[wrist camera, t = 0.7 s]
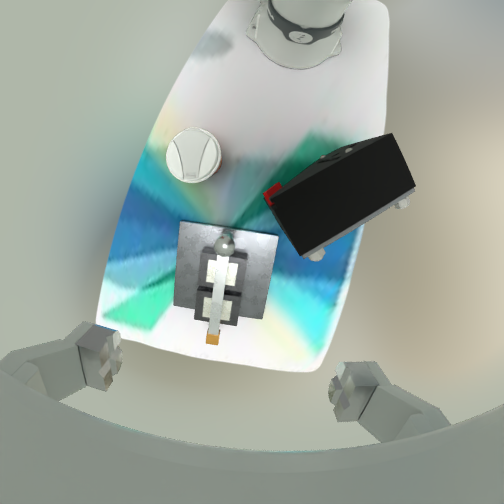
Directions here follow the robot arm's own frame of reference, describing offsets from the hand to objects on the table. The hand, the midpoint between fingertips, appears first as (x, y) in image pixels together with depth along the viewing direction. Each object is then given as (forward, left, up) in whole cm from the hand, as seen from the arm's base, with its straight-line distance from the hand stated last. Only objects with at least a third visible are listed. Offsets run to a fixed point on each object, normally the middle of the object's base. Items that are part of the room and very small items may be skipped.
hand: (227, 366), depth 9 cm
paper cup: (-9, -8, -42) cm, 44 cm away
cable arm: (+13, -2, -35) cm, 37 cm away
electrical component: (-7, +12, -42) cm, 45 cm away
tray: (+11, -2, -42) cm, 44 cm away
